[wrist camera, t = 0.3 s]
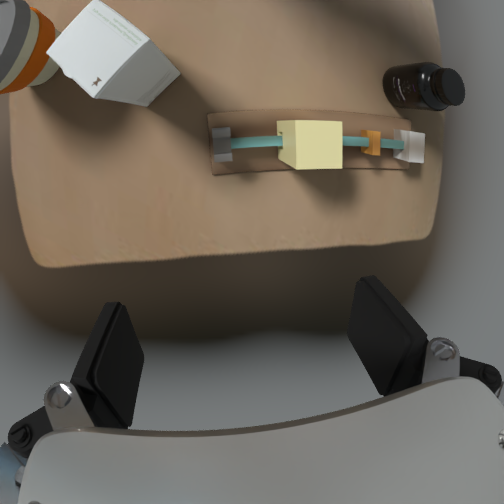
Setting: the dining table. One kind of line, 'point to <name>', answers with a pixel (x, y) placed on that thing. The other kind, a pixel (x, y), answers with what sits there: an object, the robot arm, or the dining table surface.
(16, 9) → the reusable coffee cup
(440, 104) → the supplement bottle
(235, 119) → the cable board
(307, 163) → the pale yellow block
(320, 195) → the dining table surface
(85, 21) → the skincare box
